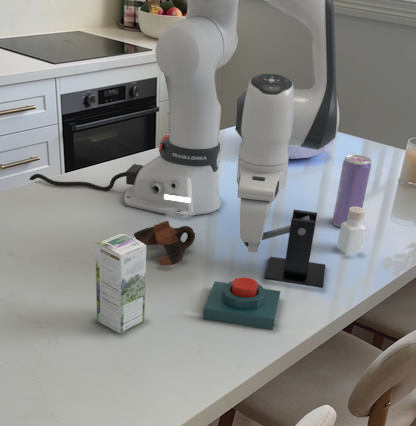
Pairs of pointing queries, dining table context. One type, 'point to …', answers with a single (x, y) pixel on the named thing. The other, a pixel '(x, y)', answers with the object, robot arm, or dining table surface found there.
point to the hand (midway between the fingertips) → (254, 245)
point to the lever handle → (278, 231)
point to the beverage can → (351, 186)
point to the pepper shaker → (352, 232)
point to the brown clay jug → (167, 240)
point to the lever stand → (298, 255)
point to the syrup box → (120, 282)
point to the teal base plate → (242, 306)
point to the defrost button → (244, 287)
